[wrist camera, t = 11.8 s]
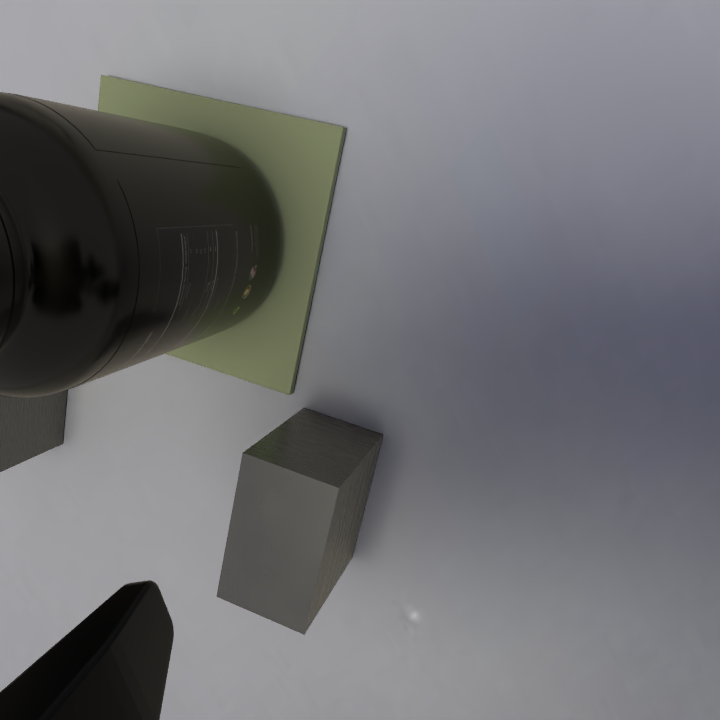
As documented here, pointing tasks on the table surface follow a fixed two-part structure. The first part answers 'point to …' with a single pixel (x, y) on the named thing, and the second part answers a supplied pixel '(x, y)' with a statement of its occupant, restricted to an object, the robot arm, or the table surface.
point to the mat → (293, 208)
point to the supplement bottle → (119, 242)
